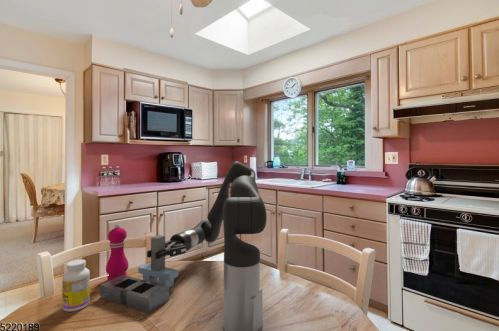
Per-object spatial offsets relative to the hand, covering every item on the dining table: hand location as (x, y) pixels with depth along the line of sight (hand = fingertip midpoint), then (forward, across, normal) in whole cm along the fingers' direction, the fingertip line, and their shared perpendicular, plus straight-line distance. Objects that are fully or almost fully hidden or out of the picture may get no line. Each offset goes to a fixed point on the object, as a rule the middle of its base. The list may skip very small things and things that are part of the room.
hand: (151, 255), depth 86 cm
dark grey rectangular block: (+7, 0, +11) cm, 13 cm away
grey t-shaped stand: (-3, 0, +11) cm, 11 cm away
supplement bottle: (+17, -12, +11) cm, 24 cm away
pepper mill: (0, -16, +11) cm, 20 cm away
